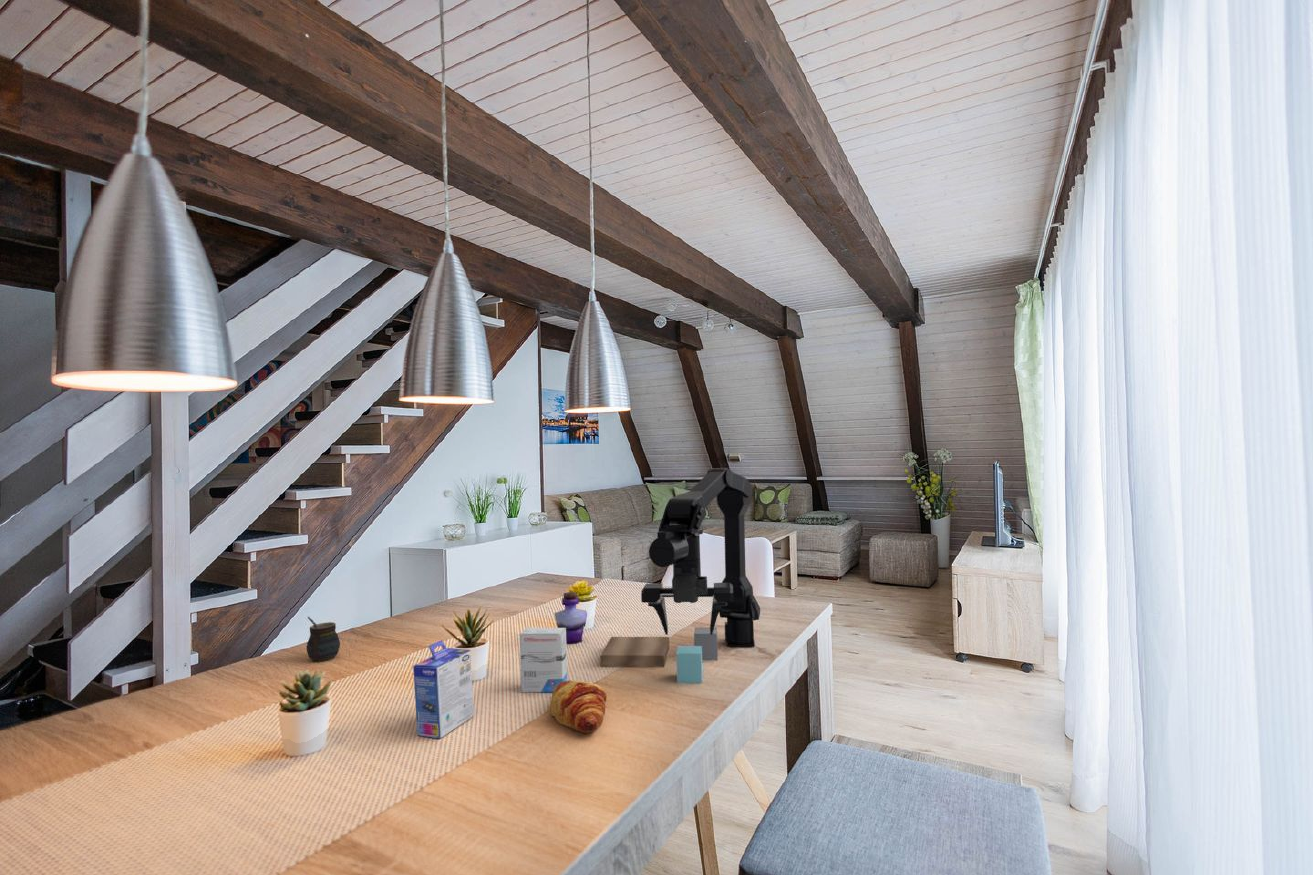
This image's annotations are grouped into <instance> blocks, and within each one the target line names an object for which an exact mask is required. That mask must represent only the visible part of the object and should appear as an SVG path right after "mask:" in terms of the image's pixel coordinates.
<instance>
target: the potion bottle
mask: <svg viewBox="0 0 1313 875" xmlns="http://www.w3.org/2000/svg"><path fill="white" fill-rule="evenodd" d="M579 599H580V598H579V596H578V594H577V592H574V591H569V592H565V593H564V592H563V597H562V598H561V604H562V606H564V609H561V610H559V611H557V612H556V611H555V612H554V613H553V614H554V618H555V622H556V626H557V627H556V628H566V645H577V644H579V643H581V642H583V634H584V630H585V629H584V627H586V623H587V619H588V612H587V610H586V609H585V610H584V609H578V608H577V605H579V604H580V600H579Z"/></svg>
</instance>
